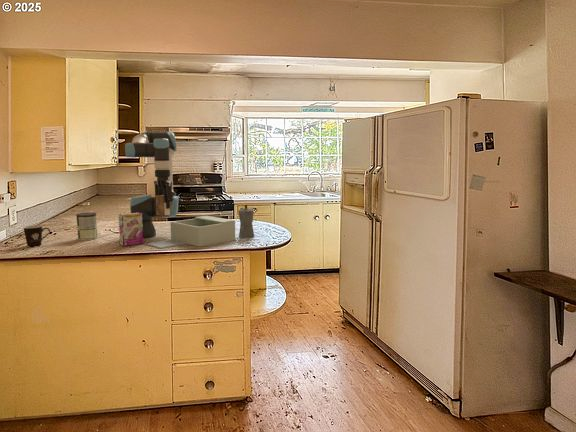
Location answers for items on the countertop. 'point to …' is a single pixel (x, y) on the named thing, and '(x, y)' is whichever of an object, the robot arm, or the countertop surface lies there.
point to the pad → (165, 244)
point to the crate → (203, 230)
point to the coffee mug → (34, 235)
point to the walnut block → (161, 205)
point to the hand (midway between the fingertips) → (164, 214)
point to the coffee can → (87, 226)
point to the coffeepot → (246, 222)
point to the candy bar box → (131, 229)
